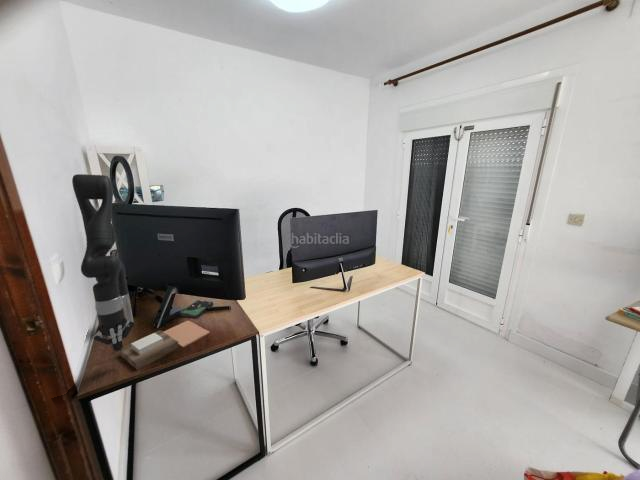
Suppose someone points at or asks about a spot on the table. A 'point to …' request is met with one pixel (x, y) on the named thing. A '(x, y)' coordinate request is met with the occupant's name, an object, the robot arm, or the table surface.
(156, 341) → the tile
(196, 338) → the mat
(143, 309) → the table surface
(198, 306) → the disk drive
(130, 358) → the deck
